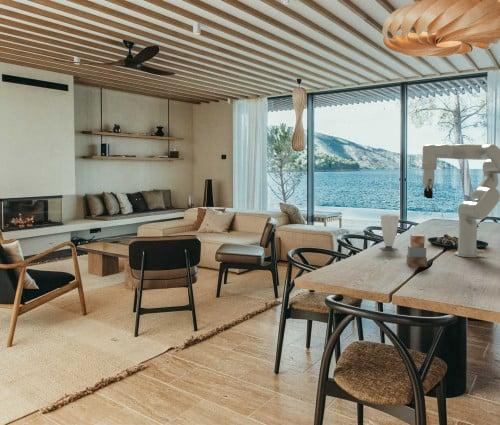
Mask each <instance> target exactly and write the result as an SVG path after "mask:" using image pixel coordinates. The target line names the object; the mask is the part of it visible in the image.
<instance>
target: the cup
mask: <svg viewBox="0 0 500 425" xmlns="http://www.w3.org/2000/svg"><path fill="white" fill-rule="evenodd" d="M399 222H400V215H399V214H395V213H394V214H393V213H382V214H381V213H380V224H381V225H380V226H381V232H382V233H381V234H382V238H383V243H384V246H385V247H384V246H382V247H379V250H381V251H386V252H395V251H399V248H396V247H394V243H395V240H396V236H397V232H398V229H399Z"/></svg>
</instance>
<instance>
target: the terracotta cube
mask: <svg viewBox="0 0 500 425" xmlns="http://www.w3.org/2000/svg"><path fill="white" fill-rule="evenodd" d="M425 236H426V235H424V234H417V233H416V234H414V233H411V234H410V243H409V245H410V246H411V247H418V248H424V246H425V238H426V237H425Z"/></svg>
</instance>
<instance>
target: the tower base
mask: <svg viewBox="0 0 500 425" xmlns="http://www.w3.org/2000/svg"><path fill="white" fill-rule="evenodd" d="M406 264H407V266H408V267H417V266H420V267H421V268H423V267H424V268H427V267H428V265H427V264H428V257H427V256H426V257H410V256H409V255H408V253H406ZM420 267H419V268H420Z"/></svg>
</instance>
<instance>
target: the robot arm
mask: <svg viewBox="0 0 500 425" xmlns="http://www.w3.org/2000/svg"><path fill="white" fill-rule="evenodd" d="M421 158H422V161H421V162H422V163H421V164H422V165H421V171H422V170H423V173H422V184H421V186H422V187H423V197H424V198H426V199H433V196H434V195H433V194H434V190H433V188H434V186H435V171H436V170H437V163H438V159H448V160H449V159H452V160H475V161H476V160H477V161H478V160H480V161H481V160H485V161H484V162H483V163H482V171H483V172H482V173H483V178H482V180H481V181H480V183H479V184H478V185H477V186H476V188H475V189H474V190H473V191H472V193H471V197H470V198H471V201H470V200H468V201H467V200H466V201H462V202H461V203H459V206H458V207H457V214H458V219H459V220H458V222H459V223H458V239H457V241H458V242H457V251H455V252H454V255H455V256H457V257H464V258H478V257H479V256H480V255H479V254H486V250H485V249H479V248H477V240H478V237H477V236H478V223H477V220H483V219H486V217H488V216H489V214H491V212H492V211H493V209H494V208H496V206H497V205H498V203H499V201H500V191H499V190H498V189H497V187H498V185H499V177H498V175H499V174H500V148H499V147H498V146H497V145H495V144H492V143H491V144H490V143H489V144H468V143H467V144H466V143H464V144H463V143H462V144H454V145H453V144H451V145H450V144H425V145H423V146H422V157H421Z"/></svg>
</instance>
